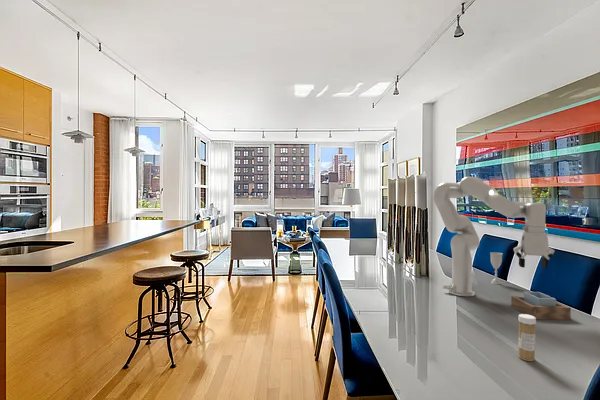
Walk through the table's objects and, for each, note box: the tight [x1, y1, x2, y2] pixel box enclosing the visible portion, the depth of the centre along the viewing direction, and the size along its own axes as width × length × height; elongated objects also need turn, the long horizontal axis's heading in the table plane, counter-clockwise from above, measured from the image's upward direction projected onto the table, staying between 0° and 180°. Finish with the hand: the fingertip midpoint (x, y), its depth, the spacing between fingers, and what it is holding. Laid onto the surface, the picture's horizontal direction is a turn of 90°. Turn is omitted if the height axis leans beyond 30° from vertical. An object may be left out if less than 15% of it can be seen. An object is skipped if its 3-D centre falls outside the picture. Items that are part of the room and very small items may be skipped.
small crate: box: [523, 291, 557, 306], centre depth 152 cm, size 7×11×7 cm, turn 177°
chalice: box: [489, 251, 504, 285], centre depth 206 cm, size 7×7×18 cm
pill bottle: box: [517, 313, 537, 362], centre depth 108 cm, size 5×5×14 cm
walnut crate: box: [510, 295, 572, 321], centre depth 152 cm, size 16×16×5 cm
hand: (533, 267), depth 157 cm, fingers open, 9 cm apart
